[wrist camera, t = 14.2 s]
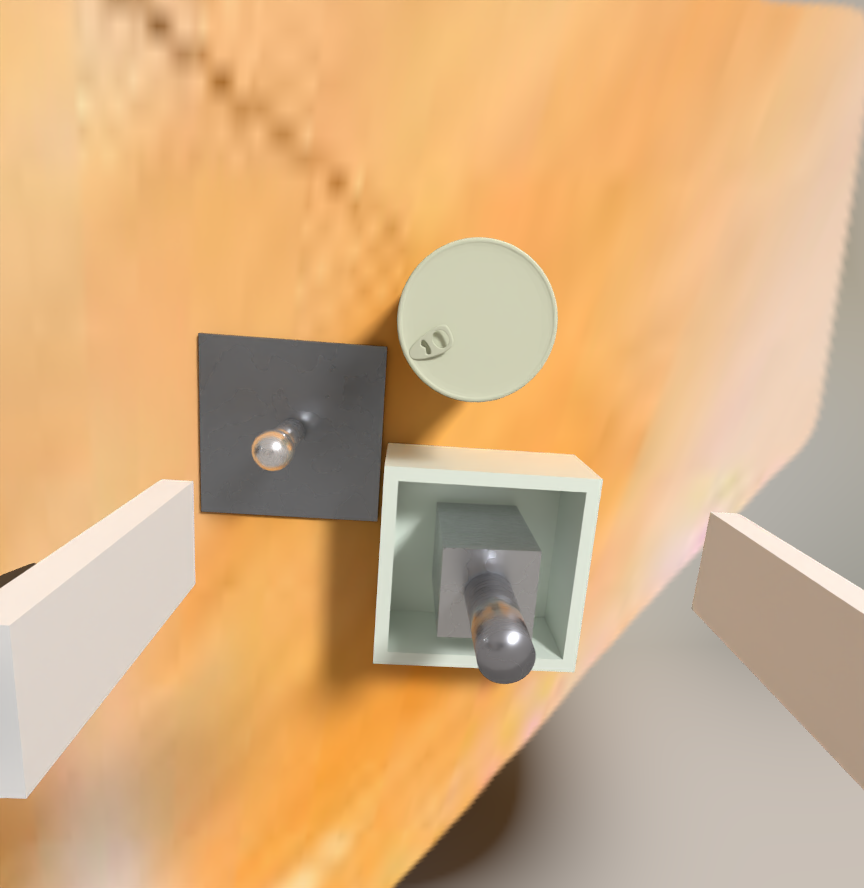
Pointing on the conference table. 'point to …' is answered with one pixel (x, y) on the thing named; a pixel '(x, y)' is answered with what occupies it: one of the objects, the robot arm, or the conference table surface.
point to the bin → (495, 483)
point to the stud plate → (299, 393)
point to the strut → (487, 585)
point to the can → (477, 319)
